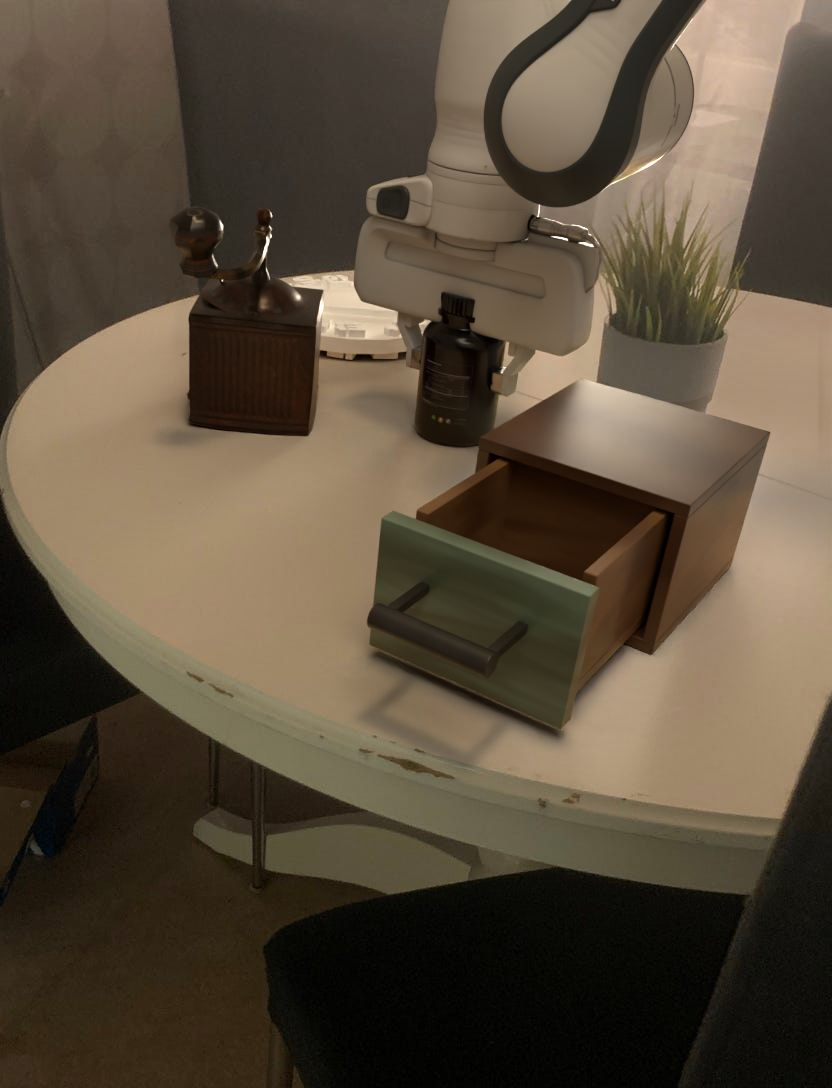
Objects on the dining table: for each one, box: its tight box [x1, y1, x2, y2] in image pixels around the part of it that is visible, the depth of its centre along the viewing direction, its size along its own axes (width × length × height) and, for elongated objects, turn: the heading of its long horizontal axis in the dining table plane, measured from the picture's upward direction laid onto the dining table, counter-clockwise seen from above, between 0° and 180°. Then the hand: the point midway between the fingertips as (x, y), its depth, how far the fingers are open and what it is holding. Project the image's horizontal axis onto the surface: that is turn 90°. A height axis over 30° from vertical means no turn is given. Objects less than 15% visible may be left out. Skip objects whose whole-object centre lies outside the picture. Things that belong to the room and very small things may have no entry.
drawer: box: [366, 457, 674, 730], centre depth 63 cm, size 18×12×8 cm
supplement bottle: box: [414, 292, 507, 447], centre depth 92 cm, size 7×7×12 cm
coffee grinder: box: [168, 205, 324, 436], centre depth 89 cm, size 16×11×18 cm
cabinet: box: [474, 377, 771, 655], centre depth 73 cm, size 15×14×10 cm
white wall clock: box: [288, 274, 431, 361], centre depth 115 cm, size 20×20×3 cm
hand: (458, 379), depth 92 cm, fingers closed on supplement bottle, 7 cm apart
